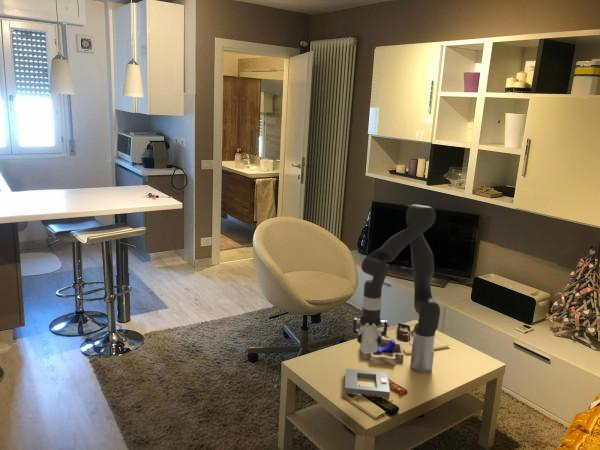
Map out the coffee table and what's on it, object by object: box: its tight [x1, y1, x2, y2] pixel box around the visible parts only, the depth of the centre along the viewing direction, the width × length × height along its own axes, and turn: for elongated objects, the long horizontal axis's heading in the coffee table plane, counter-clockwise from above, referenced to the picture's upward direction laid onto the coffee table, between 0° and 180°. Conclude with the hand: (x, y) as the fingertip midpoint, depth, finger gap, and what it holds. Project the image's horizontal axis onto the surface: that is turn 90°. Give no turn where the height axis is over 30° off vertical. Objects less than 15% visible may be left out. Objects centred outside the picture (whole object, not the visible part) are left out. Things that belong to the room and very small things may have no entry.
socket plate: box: [344, 368, 391, 399], centre depth 209 cm, size 18×15×4 cm
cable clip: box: [373, 338, 396, 355], centre depth 238 cm, size 12×4×6 cm, turn 86°
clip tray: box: [360, 337, 405, 366], centre depth 236 cm, size 19×19×4 cm
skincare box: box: [359, 324, 380, 354], centre depth 204 cm, size 6×4×12 cm
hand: (368, 343), depth 205 cm, fingers closed on skincare box, 7 cm apart
